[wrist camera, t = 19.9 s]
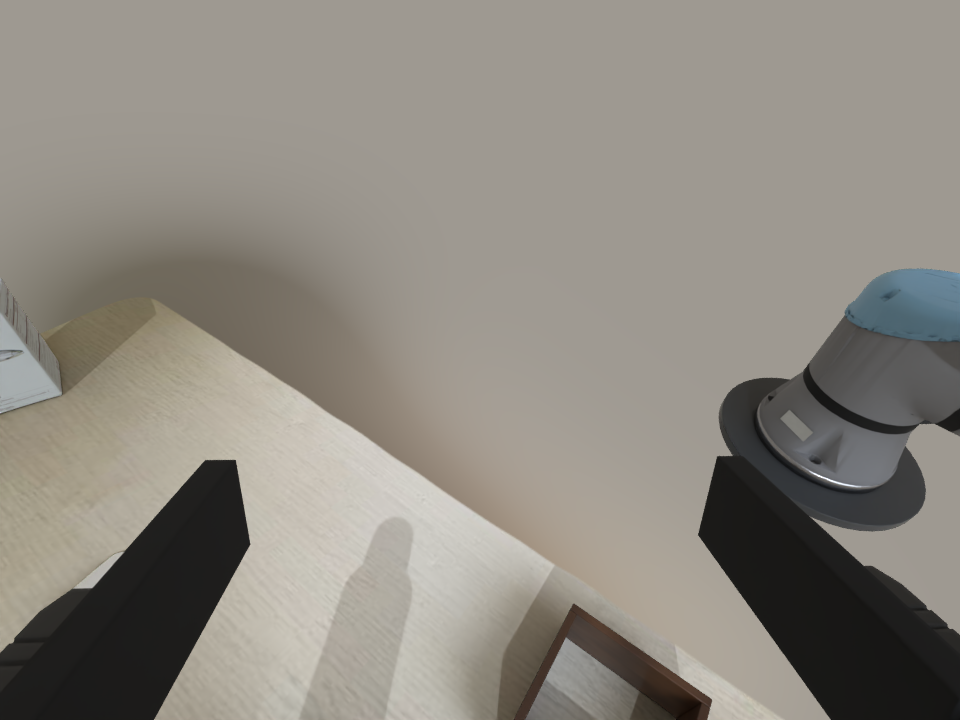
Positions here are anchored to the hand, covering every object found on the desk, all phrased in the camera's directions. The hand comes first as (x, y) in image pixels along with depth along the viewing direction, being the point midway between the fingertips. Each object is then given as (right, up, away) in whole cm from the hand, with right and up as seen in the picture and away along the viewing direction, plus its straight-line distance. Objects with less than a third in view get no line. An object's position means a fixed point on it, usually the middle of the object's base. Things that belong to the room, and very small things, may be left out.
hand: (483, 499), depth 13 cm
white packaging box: (-54, 0, +43) cm, 69 cm away
